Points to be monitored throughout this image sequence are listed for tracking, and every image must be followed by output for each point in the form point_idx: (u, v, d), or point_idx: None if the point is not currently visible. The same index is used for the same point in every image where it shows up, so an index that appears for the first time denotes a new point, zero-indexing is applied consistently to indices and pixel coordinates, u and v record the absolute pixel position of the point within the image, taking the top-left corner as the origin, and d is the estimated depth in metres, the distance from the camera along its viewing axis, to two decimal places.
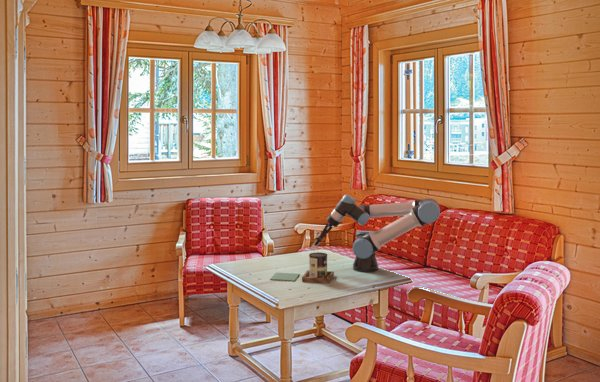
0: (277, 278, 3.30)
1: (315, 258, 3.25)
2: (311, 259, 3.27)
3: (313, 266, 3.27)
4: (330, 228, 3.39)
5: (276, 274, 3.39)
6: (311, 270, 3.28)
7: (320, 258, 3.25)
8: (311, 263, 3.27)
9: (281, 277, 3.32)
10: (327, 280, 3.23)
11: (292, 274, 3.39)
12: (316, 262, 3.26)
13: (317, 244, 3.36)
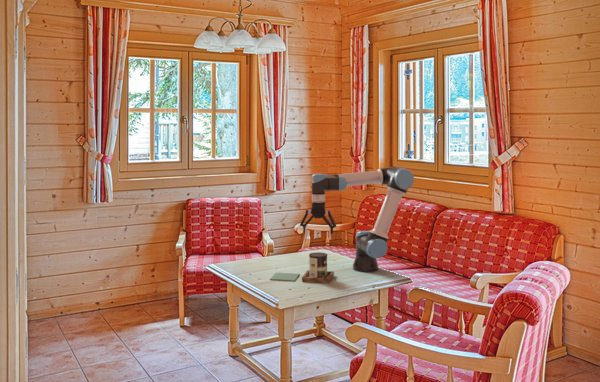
0: (277, 278, 3.30)
1: (315, 258, 3.25)
2: (311, 259, 3.27)
3: (313, 266, 3.27)
4: None
5: (276, 274, 3.39)
6: (311, 270, 3.28)
7: (320, 258, 3.25)
8: (311, 263, 3.27)
9: (281, 277, 3.32)
10: (327, 280, 3.23)
11: (292, 274, 3.39)
12: (316, 262, 3.26)
13: None
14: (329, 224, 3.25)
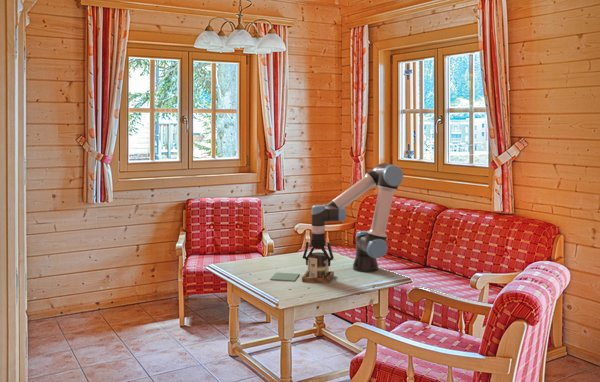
0: (277, 278, 3.30)
1: (315, 258, 3.25)
2: (311, 259, 3.27)
3: (313, 266, 3.27)
4: None
5: (276, 274, 3.39)
6: (311, 270, 3.28)
7: (320, 258, 3.25)
8: (311, 263, 3.27)
9: (281, 277, 3.32)
10: (327, 280, 3.23)
11: (292, 274, 3.39)
12: (316, 262, 3.26)
13: None
14: (327, 256, 3.28)
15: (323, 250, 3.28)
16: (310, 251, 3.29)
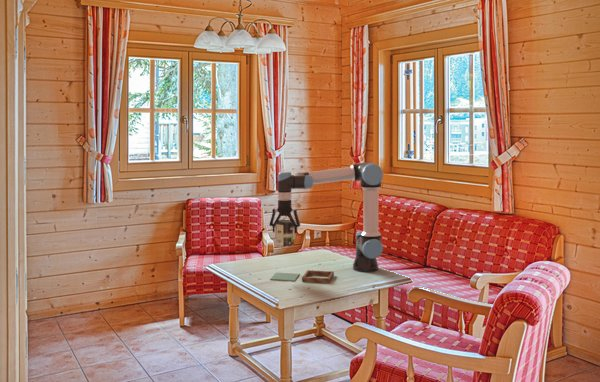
0: (277, 278, 3.30)
1: (281, 224, 3.26)
2: (277, 226, 3.28)
3: (279, 233, 3.27)
4: None
5: (276, 274, 3.39)
6: (277, 237, 3.29)
7: (286, 224, 3.26)
8: (277, 230, 3.28)
9: (281, 277, 3.32)
10: (327, 280, 3.23)
11: (292, 274, 3.39)
12: (282, 228, 3.26)
13: None
14: (293, 223, 3.28)
15: (289, 217, 3.28)
16: (277, 218, 3.30)
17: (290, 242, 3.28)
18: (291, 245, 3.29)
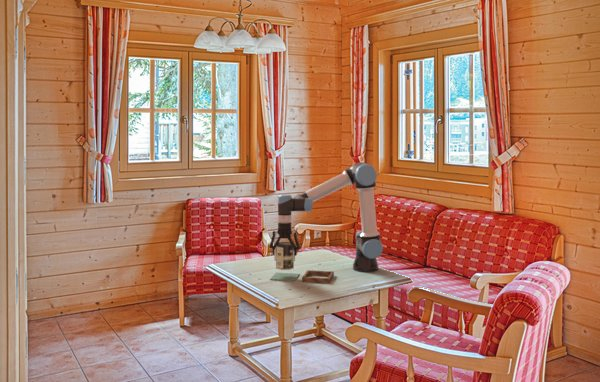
0: (277, 278, 3.30)
1: (281, 247, 3.28)
2: (277, 248, 3.29)
3: (279, 255, 3.29)
4: None
5: (276, 274, 3.39)
6: (277, 259, 3.30)
7: (286, 247, 3.28)
8: (277, 252, 3.30)
9: (281, 277, 3.32)
10: (327, 280, 3.23)
11: (292, 274, 3.39)
12: (282, 251, 3.28)
13: None
14: (293, 246, 3.30)
15: (289, 239, 3.30)
16: (277, 240, 3.32)
17: (290, 264, 3.30)
18: (291, 267, 3.31)
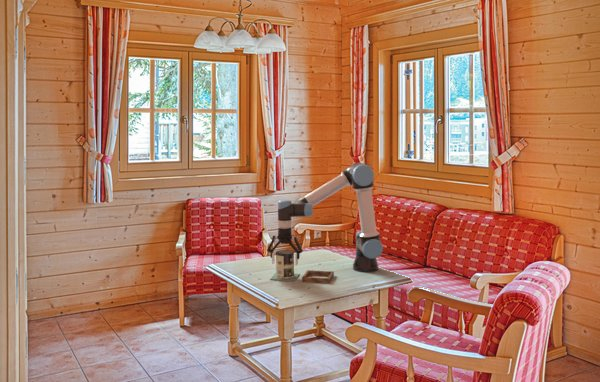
0: (277, 278, 3.30)
1: (281, 256, 3.28)
2: (278, 257, 3.30)
3: (280, 264, 3.29)
4: None
5: None
6: (278, 268, 3.31)
7: (286, 255, 3.28)
8: (278, 261, 3.30)
9: None
10: (327, 280, 3.23)
11: None
12: (282, 260, 3.29)
13: None
14: (295, 249, 3.30)
15: (290, 244, 3.30)
16: (275, 245, 3.32)
17: (290, 273, 3.31)
18: (291, 276, 3.31)
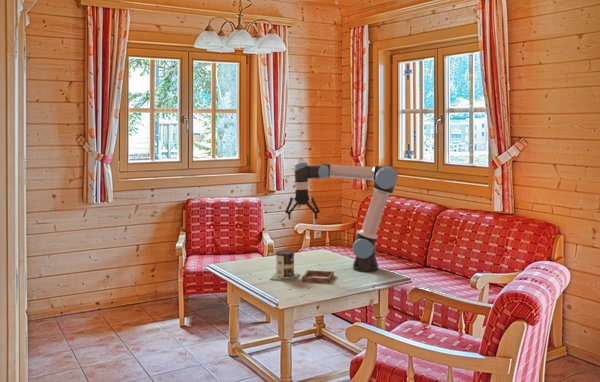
0: (277, 278, 3.30)
1: (282, 256, 3.28)
2: (278, 257, 3.30)
3: (280, 264, 3.29)
4: None
5: (276, 274, 3.39)
6: (278, 268, 3.31)
7: (286, 255, 3.28)
8: (278, 261, 3.30)
9: None
10: (327, 280, 3.23)
11: None
12: (283, 260, 3.29)
13: None
14: (313, 210, 3.40)
15: (308, 205, 3.40)
16: (293, 206, 3.42)
17: (290, 273, 3.31)
18: (291, 276, 3.31)
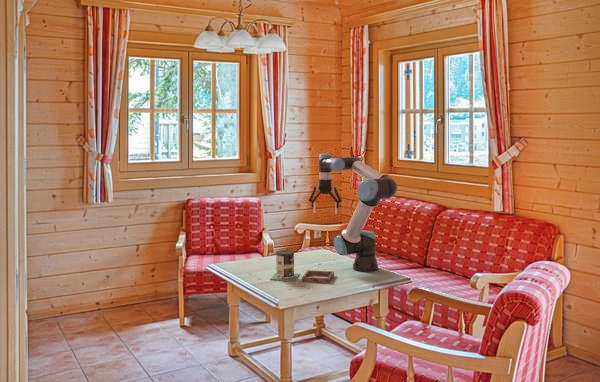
0: (277, 278, 3.30)
1: (282, 256, 3.28)
2: (278, 257, 3.30)
3: (280, 264, 3.29)
4: None
5: (276, 274, 3.39)
6: (278, 268, 3.31)
7: (286, 255, 3.28)
8: (278, 261, 3.30)
9: None
10: (327, 280, 3.23)
11: None
12: (283, 260, 3.28)
13: None
14: (335, 199, 3.58)
15: (331, 194, 3.59)
16: (317, 195, 3.61)
17: (290, 273, 3.31)
18: (291, 276, 3.31)
